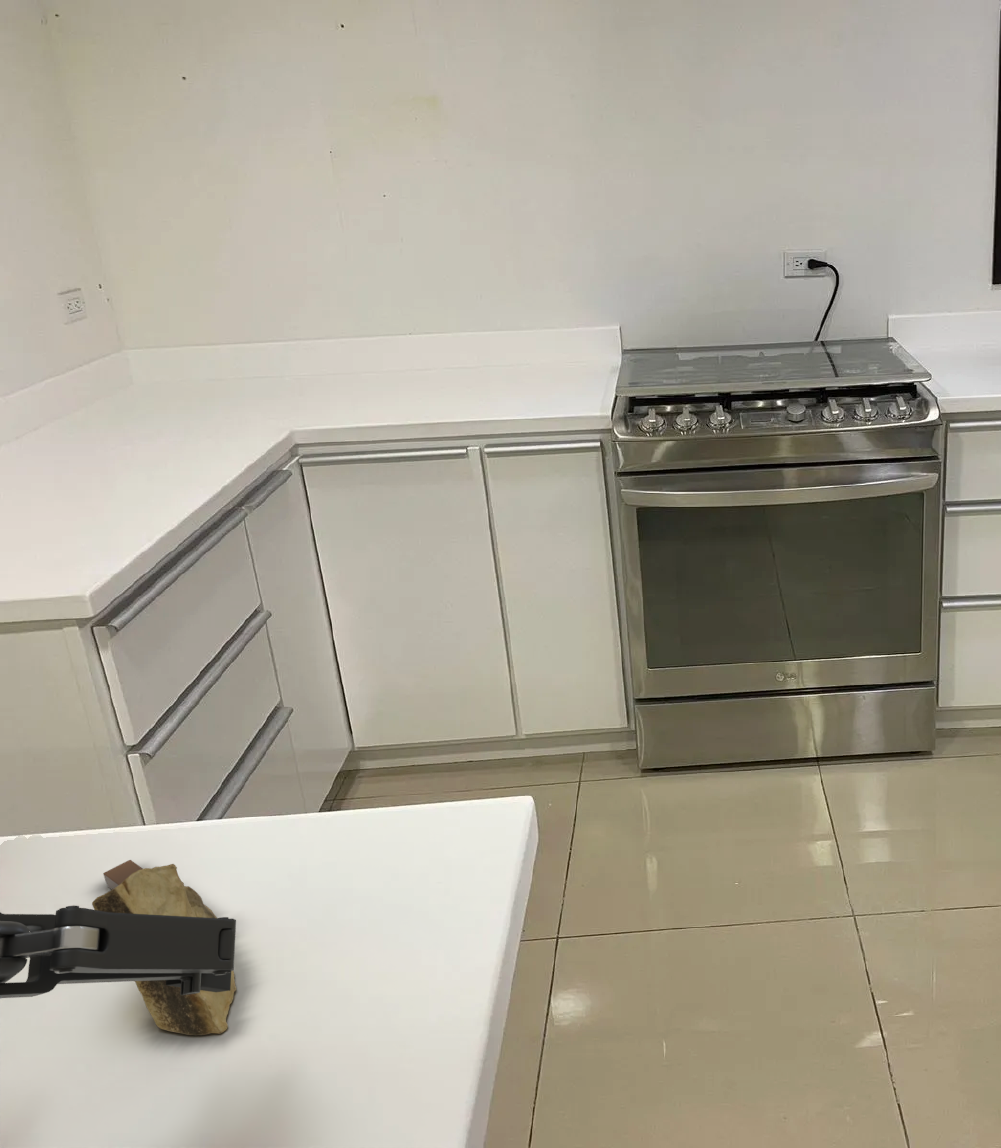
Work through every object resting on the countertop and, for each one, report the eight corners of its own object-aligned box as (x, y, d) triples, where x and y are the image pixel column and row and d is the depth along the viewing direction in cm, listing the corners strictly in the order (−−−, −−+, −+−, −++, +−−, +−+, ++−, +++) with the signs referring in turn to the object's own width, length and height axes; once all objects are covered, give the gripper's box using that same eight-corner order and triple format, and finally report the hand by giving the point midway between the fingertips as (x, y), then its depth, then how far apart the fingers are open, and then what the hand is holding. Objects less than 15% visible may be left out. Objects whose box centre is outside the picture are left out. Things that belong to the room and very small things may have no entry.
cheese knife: (104, 887, 83) (99, 874, 82) (137, 870, 85) (133, 857, 84) (170, 938, 77) (165, 924, 77) (203, 919, 79) (199, 905, 78)
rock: (152, 893, 78) (43, 978, 68) (205, 806, 76) (99, 882, 66) (279, 983, 78) (188, 1080, 69) (336, 899, 76) (250, 988, 66)
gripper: (-582, 1105, 39) (-161, 1089, 59) (160, 1007, 42) (328, 1023, 62) (-515, 888, 42) (-136, 941, 62) (175, 809, 45) (330, 884, 64)
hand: (96, 982), depth 62 cm, fingers open, 13 cm apart
